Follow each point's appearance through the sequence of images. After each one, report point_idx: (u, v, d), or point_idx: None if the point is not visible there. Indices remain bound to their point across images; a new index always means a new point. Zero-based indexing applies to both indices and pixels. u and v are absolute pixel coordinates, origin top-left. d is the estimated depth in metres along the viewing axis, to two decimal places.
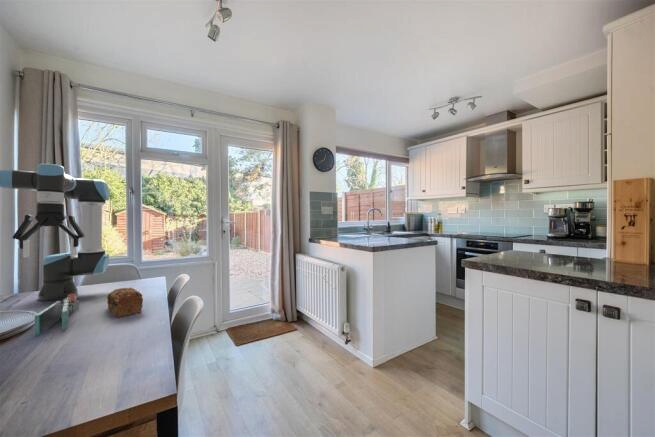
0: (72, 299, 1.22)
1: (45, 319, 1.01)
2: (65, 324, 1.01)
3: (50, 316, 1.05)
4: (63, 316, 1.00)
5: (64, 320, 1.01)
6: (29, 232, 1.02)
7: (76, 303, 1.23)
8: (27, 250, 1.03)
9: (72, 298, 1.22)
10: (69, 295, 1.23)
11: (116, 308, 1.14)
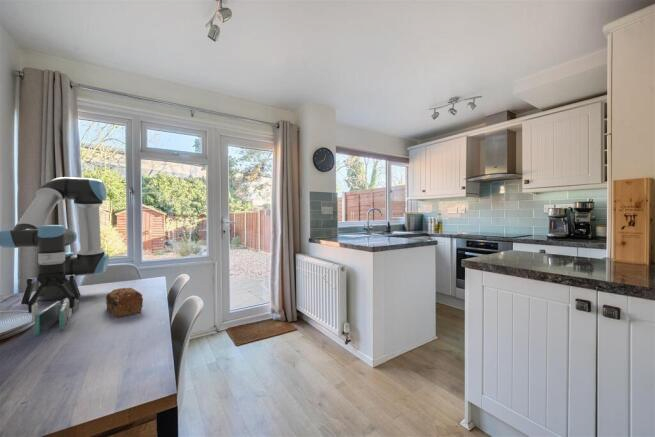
0: None
1: (45, 319, 1.01)
2: (62, 325, 1.00)
3: (50, 316, 1.05)
4: (60, 316, 1.00)
5: (61, 320, 1.00)
6: (35, 295, 1.04)
7: (76, 303, 1.23)
8: (35, 314, 1.05)
9: None
10: None
11: (116, 308, 1.14)
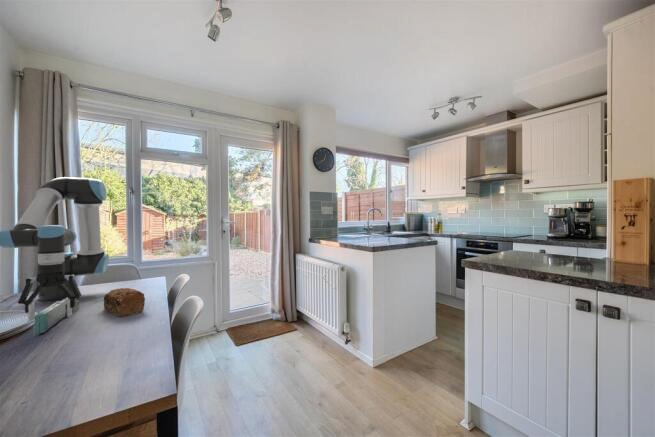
0: None
1: None
2: (43, 328, 0.97)
3: None
4: (41, 319, 0.97)
5: (42, 323, 0.97)
6: (33, 295, 1.04)
7: (76, 303, 1.23)
8: (32, 313, 1.04)
9: None
10: None
11: (120, 307, 1.14)
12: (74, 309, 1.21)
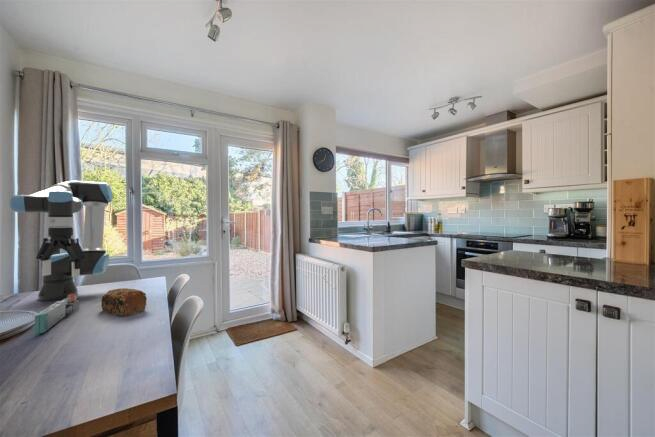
0: (72, 299, 1.22)
1: None
2: (43, 328, 0.97)
3: None
4: (41, 319, 0.97)
5: (42, 323, 0.97)
6: (46, 253, 1.14)
7: (76, 303, 1.23)
8: (46, 269, 1.15)
9: (72, 298, 1.22)
10: (69, 295, 1.23)
11: (123, 307, 1.15)
12: (74, 309, 1.21)
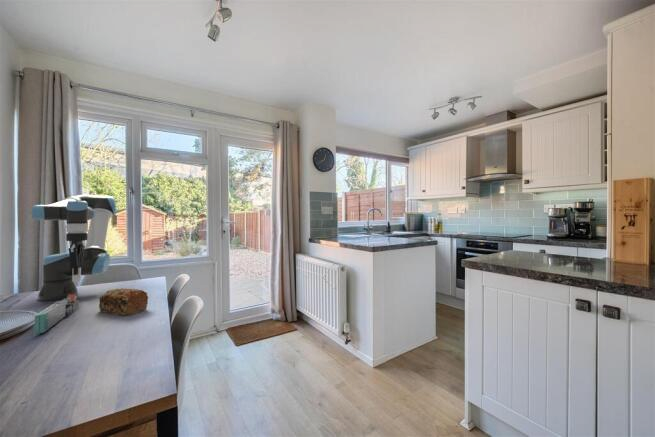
0: (72, 299, 1.22)
1: None
2: (43, 328, 0.97)
3: None
4: (41, 319, 0.97)
5: (42, 323, 0.97)
6: None
7: (76, 303, 1.23)
8: None
9: (72, 298, 1.22)
10: (69, 295, 1.23)
11: (126, 306, 1.16)
12: (74, 309, 1.21)
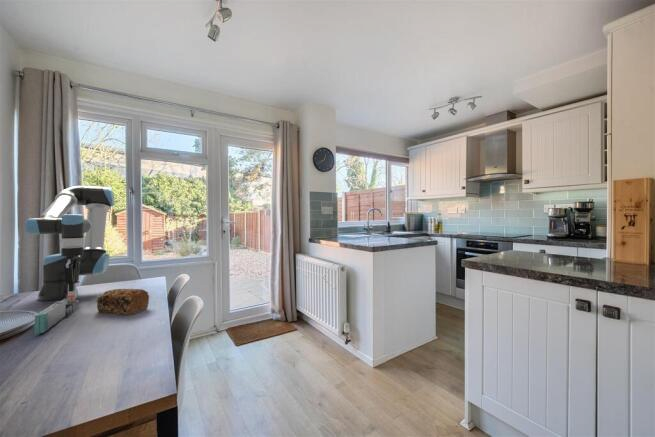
0: (71, 300, 1.21)
1: None
2: (43, 328, 0.97)
3: None
4: (41, 319, 0.97)
5: (42, 323, 0.97)
6: None
7: (76, 303, 1.23)
8: None
9: (71, 299, 1.21)
10: (68, 296, 1.21)
11: (129, 306, 1.17)
12: (74, 309, 1.21)
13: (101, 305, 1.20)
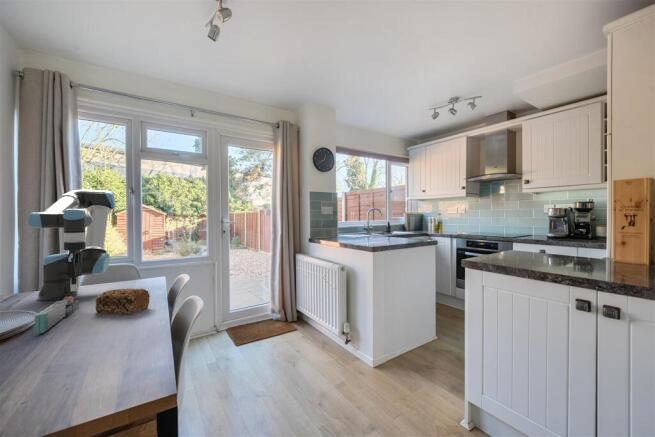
0: None
1: None
2: (43, 328, 0.97)
3: None
4: (41, 319, 0.97)
5: (42, 323, 0.97)
6: None
7: (76, 303, 1.23)
8: None
9: None
10: (66, 297, 1.19)
11: (132, 305, 1.18)
12: (74, 309, 1.21)
13: (100, 306, 1.19)
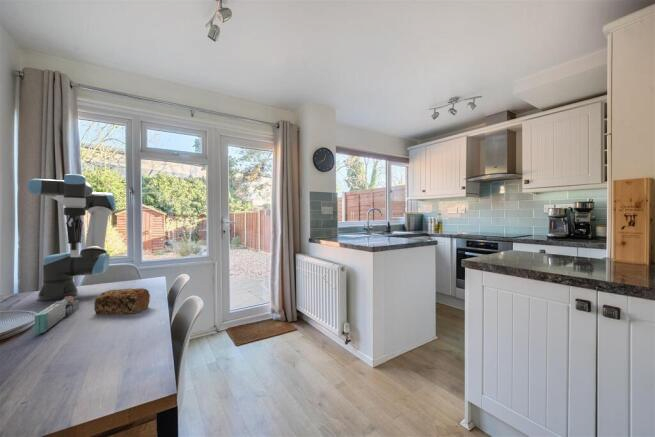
0: None
1: None
2: (43, 328, 0.97)
3: None
4: (41, 319, 0.97)
5: (42, 323, 0.97)
6: None
7: (76, 303, 1.23)
8: None
9: None
10: (66, 297, 1.19)
11: (135, 304, 1.19)
12: (74, 309, 1.21)
13: (99, 306, 1.18)
